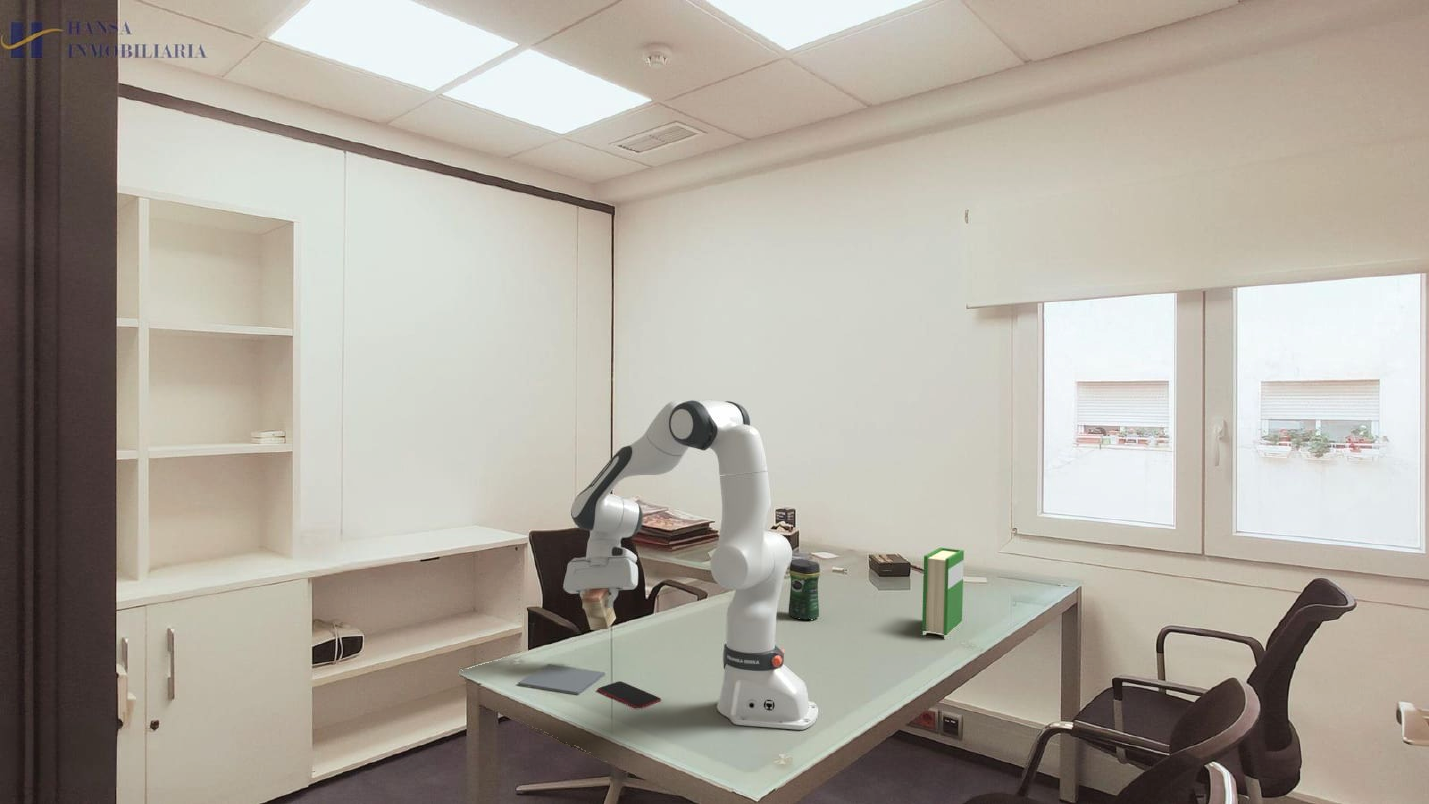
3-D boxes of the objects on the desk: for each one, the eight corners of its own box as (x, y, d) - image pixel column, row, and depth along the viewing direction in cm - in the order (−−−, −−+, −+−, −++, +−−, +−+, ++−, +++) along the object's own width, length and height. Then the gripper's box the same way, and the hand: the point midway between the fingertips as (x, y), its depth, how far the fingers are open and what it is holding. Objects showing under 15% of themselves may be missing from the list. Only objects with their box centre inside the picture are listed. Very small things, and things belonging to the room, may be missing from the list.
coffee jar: (823, 618, 243) (824, 561, 243) (807, 622, 238) (808, 564, 238) (799, 612, 250) (801, 556, 250) (784, 616, 245) (785, 558, 245)
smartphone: (638, 707, 167) (596, 688, 177) (638, 711, 167) (595, 692, 177) (662, 698, 172) (620, 680, 183) (662, 702, 172) (619, 684, 183)
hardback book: (946, 639, 224) (948, 559, 224) (921, 635, 228) (924, 555, 228) (961, 626, 239) (963, 550, 239) (938, 621, 243) (940, 547, 243)
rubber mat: (605, 674, 188) (605, 672, 188) (578, 694, 174) (578, 692, 174) (548, 666, 193) (548, 663, 193) (517, 685, 179) (518, 682, 179)
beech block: (615, 618, 195) (606, 587, 193) (608, 628, 191) (598, 597, 189) (598, 619, 197) (589, 588, 195) (590, 629, 192) (581, 598, 190)
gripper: (562, 555, 200) (555, 607, 193) (632, 548, 193) (627, 602, 186) (574, 562, 205) (568, 613, 198) (642, 556, 198) (638, 609, 192)
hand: (597, 608), depth 192 cm, fingers closed on beech block, 5 cm apart
